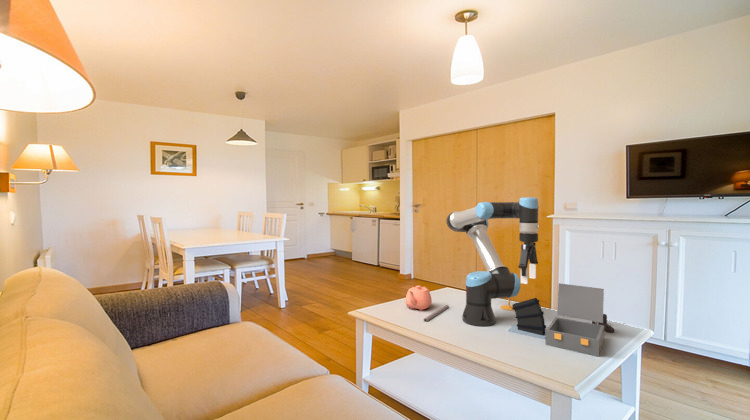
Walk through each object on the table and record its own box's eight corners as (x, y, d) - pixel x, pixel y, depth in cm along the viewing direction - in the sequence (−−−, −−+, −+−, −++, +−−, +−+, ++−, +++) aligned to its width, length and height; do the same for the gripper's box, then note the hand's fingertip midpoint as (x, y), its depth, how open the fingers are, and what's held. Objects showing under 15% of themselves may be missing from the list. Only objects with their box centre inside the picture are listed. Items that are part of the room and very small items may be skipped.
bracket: (600, 332, 152) (600, 321, 151) (590, 323, 164) (590, 312, 164) (615, 333, 150) (615, 322, 150) (604, 324, 162) (604, 313, 162)
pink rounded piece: (398, 311, 182) (398, 288, 182) (414, 302, 199) (414, 281, 199) (421, 315, 175) (421, 291, 175) (436, 305, 192) (436, 284, 192)
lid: (558, 283, 155) (559, 283, 156) (557, 315, 153) (557, 314, 154) (603, 288, 145) (603, 288, 146) (602, 323, 143) (603, 322, 144)
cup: (498, 305, 193) (498, 276, 192) (515, 305, 191) (515, 277, 191) (502, 310, 184) (502, 280, 183) (520, 310, 182) (520, 280, 182)
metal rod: (448, 308, 188) (448, 305, 188) (427, 322, 165) (427, 318, 165) (445, 308, 189) (445, 304, 189) (423, 322, 166) (423, 317, 166)
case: (545, 345, 137) (545, 306, 137) (557, 327, 157) (557, 293, 157) (598, 357, 126) (598, 315, 126) (605, 336, 146) (605, 300, 146)
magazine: (551, 333, 143) (534, 298, 147) (521, 340, 151) (507, 306, 156) (553, 331, 146) (537, 297, 150) (524, 337, 154) (510, 304, 158)
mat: (508, 331, 153) (508, 329, 153) (513, 326, 159) (513, 324, 159) (544, 339, 143) (544, 337, 143) (549, 333, 150) (549, 332, 150)
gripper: (530, 234, 139) (530, 287, 139) (544, 231, 158) (544, 277, 158) (511, 233, 143) (510, 284, 144) (527, 230, 163) (527, 275, 163)
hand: (528, 280), depth 151 cm, fingers open, 13 cm apart
